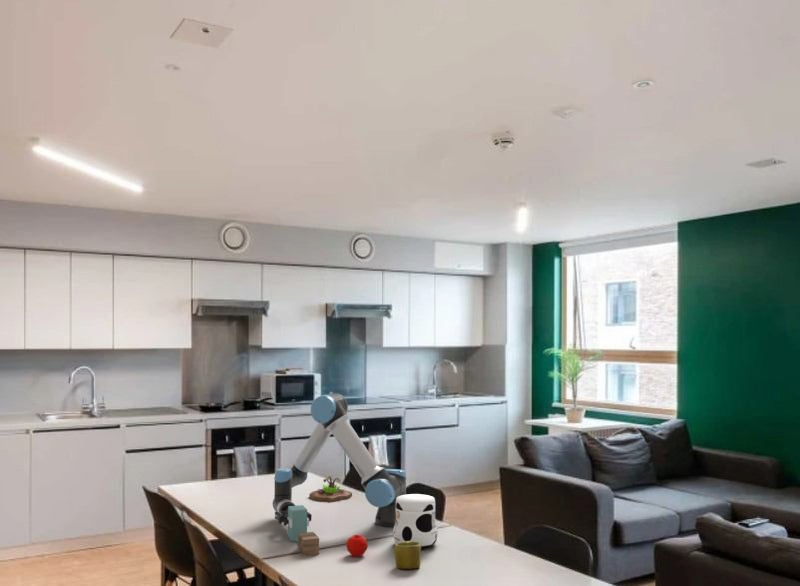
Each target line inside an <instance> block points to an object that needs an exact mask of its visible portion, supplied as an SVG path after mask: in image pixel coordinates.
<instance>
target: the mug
mask: <svg viewBox="0 0 800 586" xmlns="http://www.w3.org/2000/svg"><path fill="white" fill-rule="evenodd" d="M393 548H394V550H393V551H394V559H395V566H396V567H397V569H399V570H413V569H419V568H420V567H421V552H422V551H421V549H422V548H421V545H420V543H418V542H410V541H406V542H399V543H396V542H395V543H394V547H393Z"/></svg>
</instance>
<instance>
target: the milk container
mask: <svg viewBox="0 0 800 586" xmlns="http://www.w3.org/2000/svg"><path fill="white" fill-rule="evenodd" d="M392 532H393V534H392V536H393V540H394V542H395V544H396V543H399V542H406V541H410V542H418V543H420V545H421V549H424V548H428V547H432V546H433V545H435V544H436V542H437V539H438V534H439V533H438V527H437V524H436V499H435V497H434V496H431V495H428V494H421V493H410V494H407V493H406V495H401V496H398V497H397V498H396V521H395V525H394V527H393V530H392Z"/></svg>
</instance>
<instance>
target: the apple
mask: <svg viewBox="0 0 800 586" xmlns="http://www.w3.org/2000/svg"><path fill="white" fill-rule="evenodd" d="M345 545H346V549H347V551H348V552H349V554H350V555H351V556H352V557H355V558H359V557H362V556H363V555H364V554H365V553H366V552H367V550H368V542H367V539H366V538H365V537H364V536H363V535H360V534H355V535H352V536H350V537H349V538H348V539H347V541H346V544H345Z"/></svg>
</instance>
